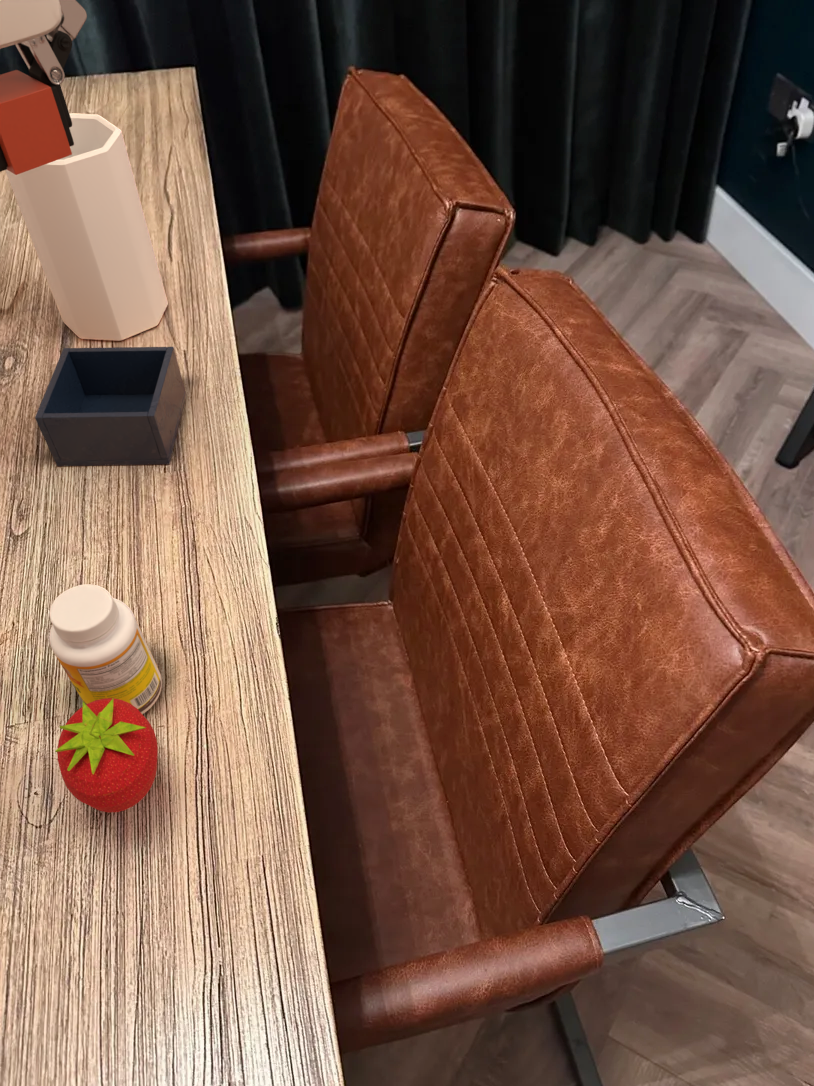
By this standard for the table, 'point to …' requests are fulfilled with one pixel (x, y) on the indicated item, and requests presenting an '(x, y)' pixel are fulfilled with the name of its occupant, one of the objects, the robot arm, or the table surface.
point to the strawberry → (108, 755)
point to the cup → (93, 235)
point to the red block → (29, 123)
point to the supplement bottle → (103, 648)
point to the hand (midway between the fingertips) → (26, 150)
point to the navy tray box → (113, 406)
